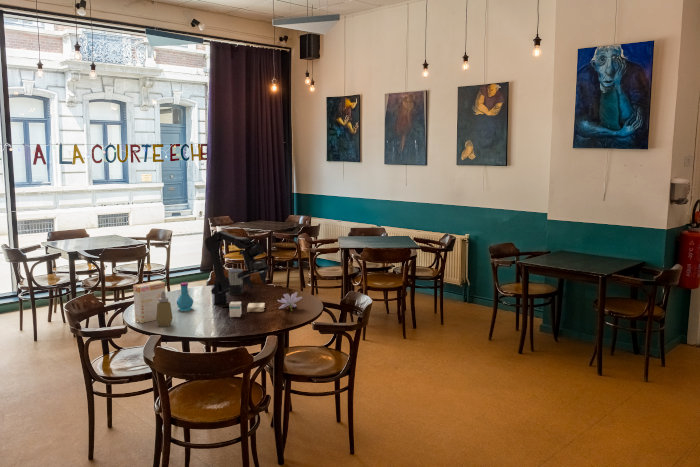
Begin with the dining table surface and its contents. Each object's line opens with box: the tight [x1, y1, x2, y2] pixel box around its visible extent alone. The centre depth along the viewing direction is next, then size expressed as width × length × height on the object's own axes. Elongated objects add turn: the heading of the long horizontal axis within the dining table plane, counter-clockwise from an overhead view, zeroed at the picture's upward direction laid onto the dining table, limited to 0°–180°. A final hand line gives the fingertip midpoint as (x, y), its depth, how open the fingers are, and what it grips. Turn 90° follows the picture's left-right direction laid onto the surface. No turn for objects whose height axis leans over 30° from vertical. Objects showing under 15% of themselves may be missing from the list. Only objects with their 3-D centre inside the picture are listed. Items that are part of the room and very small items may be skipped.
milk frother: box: [227, 268, 245, 296], centre depth 379 cm, size 14×16×15 cm
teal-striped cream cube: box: [228, 301, 243, 318], centre depth 328 cm, size 6×6×7 cm
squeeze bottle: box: [155, 291, 173, 328], centre depth 309 cm, size 8×8×18 cm
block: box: [246, 302, 266, 313], centre depth 340 cm, size 9×9×3 cm
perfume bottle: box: [175, 282, 194, 312], centre depth 341 cm, size 9×9×15 cm
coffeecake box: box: [132, 280, 166, 324], centre depth 321 cm, size 15×7×20 cm, turn 134°
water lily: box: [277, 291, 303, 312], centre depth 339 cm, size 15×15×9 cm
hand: (258, 286), depth 334 cm, fingers open, 9 cm apart
